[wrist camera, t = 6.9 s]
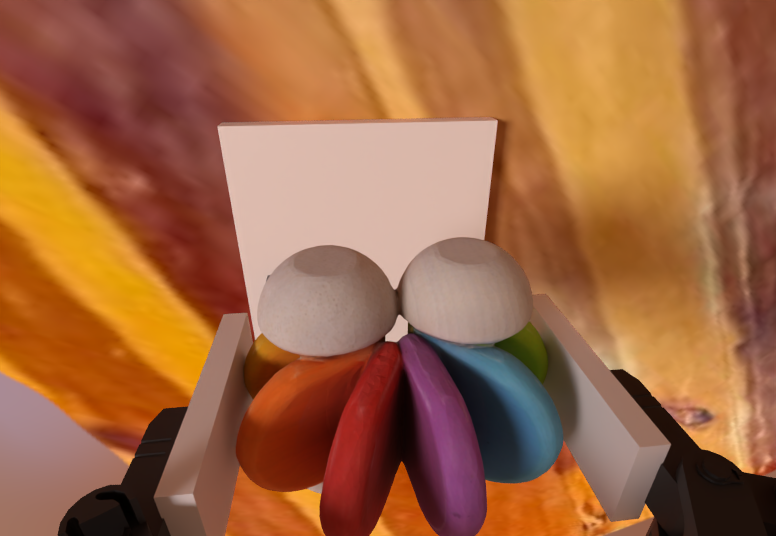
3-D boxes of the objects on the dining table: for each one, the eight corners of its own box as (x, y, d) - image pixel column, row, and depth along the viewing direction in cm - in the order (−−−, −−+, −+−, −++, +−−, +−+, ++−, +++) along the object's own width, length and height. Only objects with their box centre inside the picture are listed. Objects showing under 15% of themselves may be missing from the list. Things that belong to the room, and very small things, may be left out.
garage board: (222, 122, 25) (198, 141, 21) (491, 117, 27) (523, 133, 22) (272, 412, 36) (263, 467, 31) (461, 396, 38) (479, 445, 33)
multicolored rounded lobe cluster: (233, 233, 13) (145, 412, 7) (534, 218, 14) (696, 363, 8) (270, 427, 17) (236, 653, 11) (504, 405, 18) (595, 601, 12)
